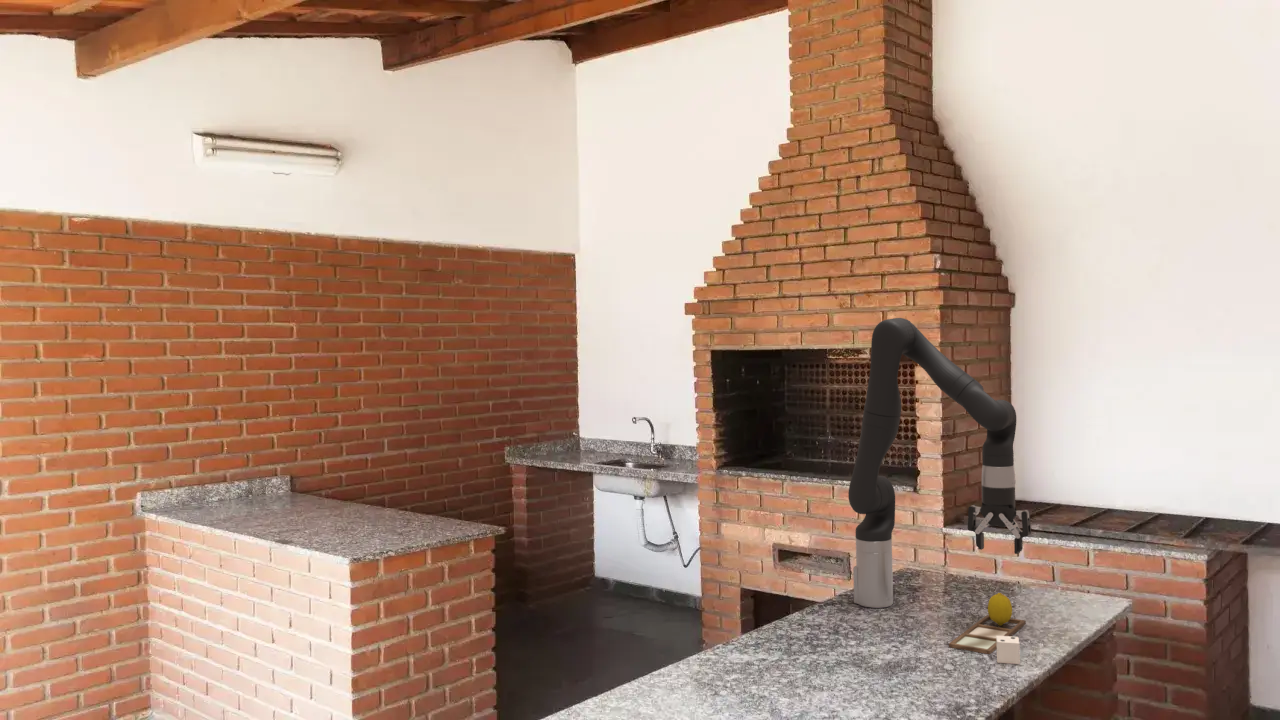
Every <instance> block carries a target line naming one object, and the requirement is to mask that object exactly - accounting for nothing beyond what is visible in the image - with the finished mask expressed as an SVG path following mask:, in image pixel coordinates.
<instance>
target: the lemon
mask: <svg viewBox="0 0 1280 720" xmlns="http://www.w3.org/2000/svg"><path fill="white" fill-rule="evenodd" d="M987 612H988V614H987V615H989V617H990V618H991V619H990V620H991V621H993V622H994V623H996V625H998V627H999V626H1000V627H1002V626H1003V625H1004V624H1006V623H1009V622H1008V621H1009V620H1010V618H1012V615H1013V606H1012V603H1011V600H1010V599H1009V597H1008V596H1006V595H1005V594H1003V593H1001V592H998V593H996V594H994V595H992V596H991V597H990V598H989V601H988V603H987Z"/></svg>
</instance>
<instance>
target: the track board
mask: <svg viewBox="0 0 1280 720" xmlns="http://www.w3.org/2000/svg"><path fill="white" fill-rule="evenodd" d="M989 620H991V618H990V617H989V614H986V615H985V616H984V617H982V618H980V619H979V620H978V621H977V622H975V623H974V624H973V625H972V626H970V627H969V628H968V629H966V630H965V631H963V633H961V634H960V635H958V636H957V637H955V638H954V639H953V640H952V641H950V642H949V643H948V648H952V649H958V650H963V651H968V652H969V651H970V652H973V653H980V654H986V655H991V654H992V653H993V652H995V651H997V646H996V636H1012V637H1013V636H1014V635H1015V634H1016V633H1017V632H1018V631H1020V629H1022V628H1023V627H1024V626H1026V624H1027V622H1026V620H1025V619H1024V620H1023V619H1016V618H1012V617H1011V618H1010V620H1009V621H1008V622H1007V623H1011V624H1016V625H1014V626H1013V627H1012V628H1011V629H1010V628H1005V627H1001V626H1000V627H999V626H993V625H988V624H985V623H987V622H989Z"/></svg>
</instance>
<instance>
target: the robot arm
mask: <svg viewBox="0 0 1280 720" xmlns="http://www.w3.org/2000/svg"><path fill="white" fill-rule="evenodd" d="M870 344H871V345H870V346H871V347H870V367H869V369H870V371H869V375H868V377H869V378H868V384H867V388H866V396H865V402H864V406H863V414H862V420H861V431H860V437H859V441H858V448H857V453H856V459H855V463H854V466H853V471H852V475H851V478H850V482H849V486H848V496H847V497H848V502H849V505H850V508H852V510H853V511H854V513H857V514H860V515H864V518H863V520H862V521H861V522H860V523H859V524H858V525H857V526H856V527H855V560H856V563H855V564H856V565H855V566H853V569H852V571H853V572H852V573H853V576H852V577H853V579H852V580H853V603H854V604H858V605H860V606H862V607H866V608H888V607H891V606H893V605H894V581H893V580H894V578H893V574H894V573H893V572H894V571H893V544H892V543H893V541H892V540H893V539H892V538H893V535H892V534H893V531H894V528H895V523H896V491H895V489H894V486H893V484H892V482H891V481H890V479H889V478H888V477H886V476H884V475H879V474H880V473H879V472H880V468H881V465H882V462H883V460H884V458H885V457H886V455H887V453H888V452H889V450H890V448H891V446H892V445H893V443H894V442H895V439H896V437H897V435H898V433H899V427H900V422H901V416H902V415H901V414H902V399H901V393H900V389H899V383H898V381H899V380H898V378H899V376H898V375H899V368H900V364H901V359H902V355H903V356H905V357H906V358H908V359H910V360H912V361H913V362H915V363H916V364H917V365H918V366H919V367H921V368H922V369H923V370H924V371H925V373H926V374H927V375H928V376H929V377H930V378H931V380H932V381H933V383H934V384H935V385H936V387H938V389H940V391H942V392H943V393H944V394H946V396H948V397H949V398H951V399H952V400H953V401H955V403H957V404H958V405H960V406H961V407H963V409H965V412H967V414H969V415H970V417H971V418H972V419H973V420H974V421H975V422H976V423H977V424H978V425H980V426H981V427H982V428H984V429H985V430H986V439H985V441H984V442H983V444H982V454H981V457H982V458H981V459H982V466H981V506H977V504H973V505H970V506H969V507H968V508H967V509H968V512H967V530H968V531H971V532H973V533H974V534H975V545H976V547H977V549H978V550H979V551H980V550H981V551H982V550H984V548H985V533H984V530H985V529H986V528H987V527H988V526H989V525H990V527H997V526H998V527H1000V528H1005V527H1007V529H1008V530H1009V531H1010V532H1011V533H1012V534H1013V536H1014V538H1013V541H1014V542H1013V543H1014V545H1013V546H1014V547H1013V548H1014V554H1016V555H1019V554H1020V553H1021V552H1022V551H1023V549H1024V548H1023V547H1024V546H1023V542H1024V541H1023V539H1024V538H1027V537H1029V535H1031V534H1032V527H1031V526H1032V525H1031V524H1032V523H1031V514H1030V513H1031V512H1030V510H1029V509H1025V510H1017V507H1016V472H1015V466H1014V464H1015V463H1014V461H1015V460H1014V459H1015V458H1014V441H1015V437H1016V429H1017V412H1016V409H1015V407H1014V405H1013V404H1012V403H1011V402H1010V401H1007V400H1004V399H995V398H993V397H992V396H991V395H990V394H988V393H987V392H986V391H985V390H984V389H985V388H984V386H983V384H981V383H980V382H979V381H978V380H976V379H975V378H974V377H973V376H971V375H970V374H969V373H967V372H966V371H965V370H963V369H962V368H961V367H959V366H958V365H957V364H955V363H954V362H953V361H952V360H950V358H948V357H946V356H945V355H944V354H943V353H942V352H941V351H940V350H939V349H938V348H937V346H935V345H934V344H933V343H932V342H930V340H929V339H927V337H926V336H925V335H924V334H923V333H922V332H921V331H920V330H919V329H918V328H917V327H916V325H915V324H913V323H912V321H910V320H908V319H907V318H905V317H904V318H903V317H894V318H888V319H884V320H881V321H880V322H878V323H877V325H876V326H874V329H873V332H872V335H871V343H870ZM979 513H980V514H981V516H982V517H983V520H982V521H981V522H980V523H979V525H978V526H977V515H979ZM1017 516H1018V519H1019V520H1021V527H1022V529H1021V528H1020V527H1019V524H1018V523H1017V522H1016V520H1015V518H1016V517H1017ZM892 604H893V605H892Z"/></svg>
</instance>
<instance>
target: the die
mask: <svg viewBox="0 0 1280 720" xmlns="http://www.w3.org/2000/svg"><path fill="white" fill-rule="evenodd" d="M1020 644H1021V643H1020V639H1019V636H1013V635H1012V636H996V646H997V649H996V661H997V662H996V663H998V664H1012V665H1021V655H1020V654H1021V653H1020V652H1021V651H1020V649H1021V645H1020Z"/></svg>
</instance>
